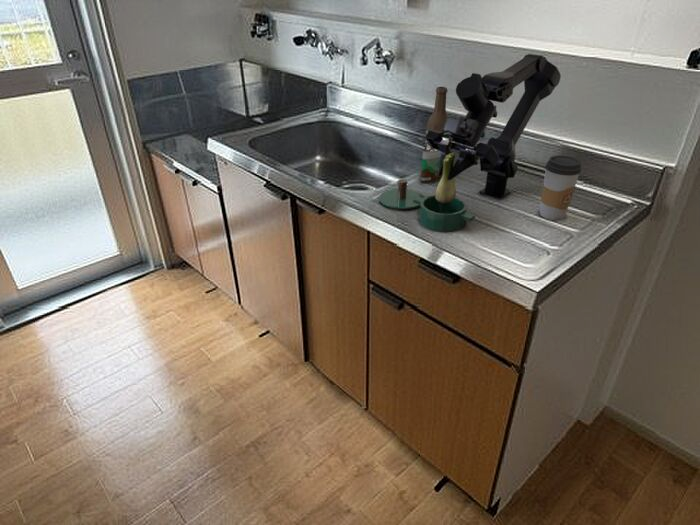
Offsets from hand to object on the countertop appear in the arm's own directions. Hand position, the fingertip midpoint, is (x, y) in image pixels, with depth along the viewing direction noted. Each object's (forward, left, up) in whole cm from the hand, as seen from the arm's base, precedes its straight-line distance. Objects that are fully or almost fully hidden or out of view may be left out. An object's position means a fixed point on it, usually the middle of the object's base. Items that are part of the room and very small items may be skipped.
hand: (443, 177), depth 119 cm
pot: (-1, 0, -12) cm, 12 cm away
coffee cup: (-23, +20, -13) cm, 33 cm away
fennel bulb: (-2, 0, -7) cm, 7 cm away
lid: (-4, -15, -12) cm, 19 cm away
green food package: (-24, -18, -13) cm, 33 cm away
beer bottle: (-35, -24, -13) cm, 44 cm away
